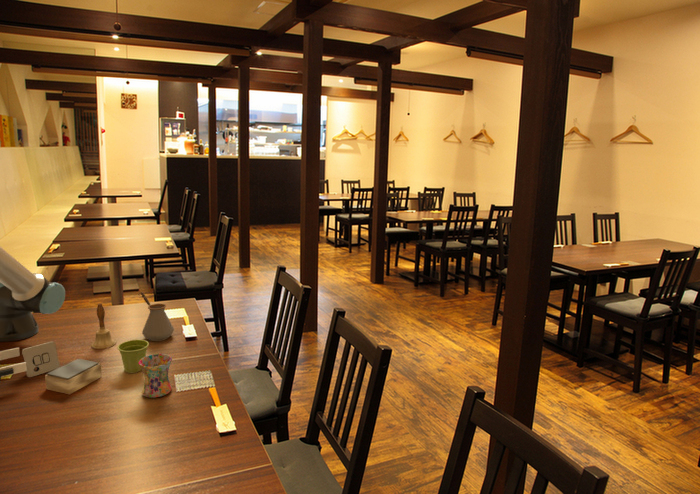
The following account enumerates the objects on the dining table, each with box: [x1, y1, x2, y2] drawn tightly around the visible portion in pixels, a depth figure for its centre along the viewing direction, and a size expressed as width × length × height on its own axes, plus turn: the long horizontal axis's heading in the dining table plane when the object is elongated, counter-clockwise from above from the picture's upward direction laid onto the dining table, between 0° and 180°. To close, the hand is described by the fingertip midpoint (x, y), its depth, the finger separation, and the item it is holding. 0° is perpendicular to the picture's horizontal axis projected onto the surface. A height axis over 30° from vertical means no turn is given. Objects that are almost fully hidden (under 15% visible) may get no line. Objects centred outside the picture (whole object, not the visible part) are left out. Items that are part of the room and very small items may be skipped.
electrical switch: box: [21, 341, 61, 378], centre depth 153 cm, size 9×5×9 cm, turn 141°
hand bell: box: [91, 303, 117, 350], centre depth 173 cm, size 8×8×16 cm
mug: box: [139, 353, 173, 398], centre depth 142 cm, size 12×9×11 cm
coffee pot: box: [138, 291, 175, 342], centre depth 185 cm, size 21×12×15 cm, turn 45°
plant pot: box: [117, 339, 150, 374], centre depth 156 cm, size 9×9×9 cm
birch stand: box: [44, 358, 103, 395], centre depth 146 cm, size 12×9×5 cm
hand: (22, 358), depth 149 cm, fingers open, 13 cm apart
